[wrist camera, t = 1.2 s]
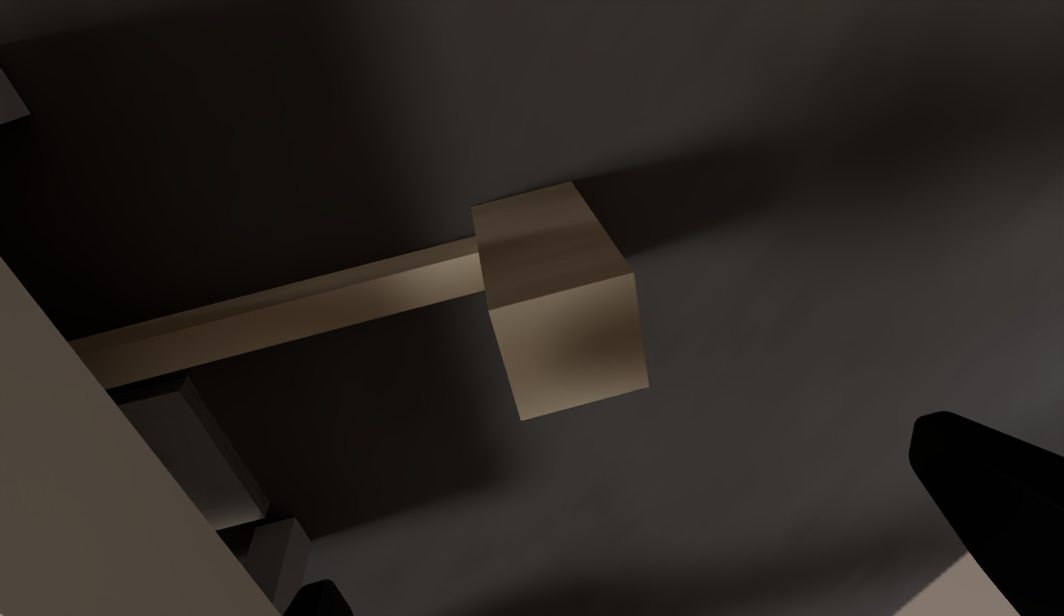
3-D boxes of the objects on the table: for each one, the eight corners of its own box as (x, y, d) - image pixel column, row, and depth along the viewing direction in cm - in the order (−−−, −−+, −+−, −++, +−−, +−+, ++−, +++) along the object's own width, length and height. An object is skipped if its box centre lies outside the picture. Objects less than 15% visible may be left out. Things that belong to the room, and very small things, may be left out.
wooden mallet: (614, 420, 21) (671, 559, 16) (63, 568, 21) (-57, 760, 16) (571, 181, 17) (633, 272, 11) (-150, 366, 16) (-423, 550, 11)
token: (273, 491, 21) (265, 518, 20) (114, 531, 21) (98, 560, 20) (192, 367, 18) (178, 390, 17) (5, 413, 18) (-20, 439, 17)
